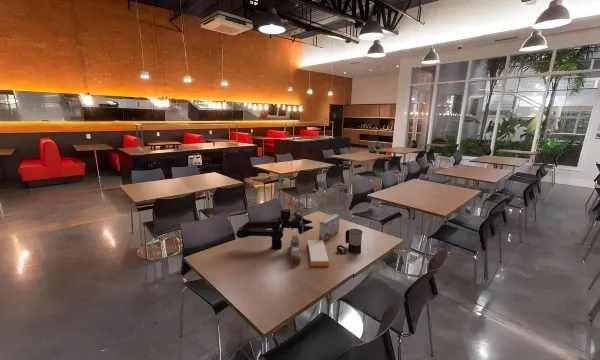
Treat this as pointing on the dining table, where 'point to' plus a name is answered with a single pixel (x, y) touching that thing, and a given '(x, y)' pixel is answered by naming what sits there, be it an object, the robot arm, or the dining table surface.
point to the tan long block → (295, 256)
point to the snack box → (329, 227)
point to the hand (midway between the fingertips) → (312, 224)
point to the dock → (317, 253)
